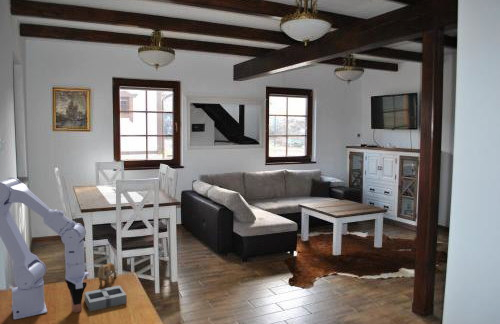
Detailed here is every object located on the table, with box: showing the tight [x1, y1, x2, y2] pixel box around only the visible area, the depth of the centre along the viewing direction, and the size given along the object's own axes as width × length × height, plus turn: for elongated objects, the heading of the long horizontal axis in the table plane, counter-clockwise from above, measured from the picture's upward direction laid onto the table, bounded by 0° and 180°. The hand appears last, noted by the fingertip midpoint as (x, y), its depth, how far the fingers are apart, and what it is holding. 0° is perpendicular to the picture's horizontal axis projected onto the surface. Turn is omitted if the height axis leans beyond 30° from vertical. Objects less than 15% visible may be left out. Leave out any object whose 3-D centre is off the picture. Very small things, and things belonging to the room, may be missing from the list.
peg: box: [70, 294, 83, 313], centre depth 136 cm, size 3×3×8 cm
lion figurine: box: [96, 262, 117, 288], centre depth 158 cm, size 15×5×9 cm, turn 8°
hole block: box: [83, 285, 128, 312], centre depth 142 cm, size 12×9×3 cm
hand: (76, 301), depth 136 cm, fingers closed on peg, 3 cm apart
